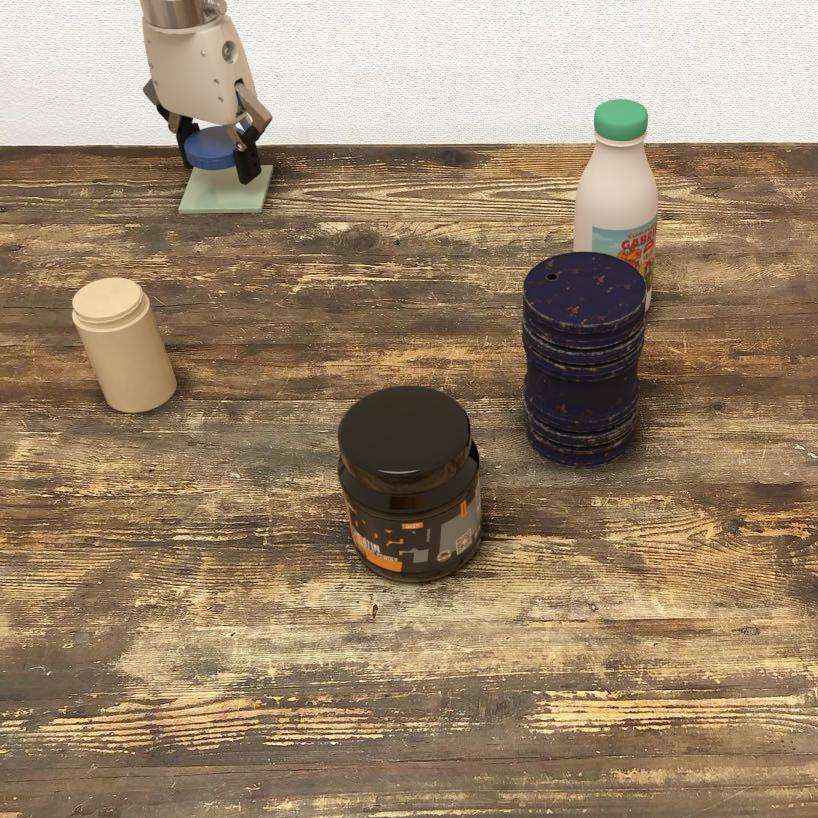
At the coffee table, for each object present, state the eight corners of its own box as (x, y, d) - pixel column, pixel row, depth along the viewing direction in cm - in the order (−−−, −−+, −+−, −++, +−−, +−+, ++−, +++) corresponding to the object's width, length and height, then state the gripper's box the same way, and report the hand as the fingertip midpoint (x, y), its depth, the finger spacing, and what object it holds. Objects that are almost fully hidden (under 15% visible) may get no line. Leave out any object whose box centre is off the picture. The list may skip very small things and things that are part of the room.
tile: (179, 214, 117) (177, 209, 116) (195, 170, 123) (194, 165, 122) (261, 212, 117) (260, 208, 116) (273, 169, 123) (272, 164, 122)
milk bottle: (560, 317, 104) (562, 122, 89) (588, 274, 109) (594, 82, 94) (635, 336, 102) (650, 139, 87) (660, 291, 107) (678, 97, 92)
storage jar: (655, 413, 95) (669, 271, 84) (607, 484, 89) (615, 341, 78) (555, 379, 98) (556, 238, 87) (503, 445, 93) (497, 303, 81)
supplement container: (328, 528, 86) (302, 417, 77) (437, 471, 90) (424, 360, 81) (398, 610, 81) (379, 502, 72) (510, 546, 85) (506, 435, 76)
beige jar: (119, 422, 95) (81, 329, 87) (95, 383, 98) (56, 290, 91) (187, 395, 97) (156, 302, 89) (161, 358, 101) (130, 265, 93)
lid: (264, 146, 117) (261, 133, 116) (225, 176, 113) (222, 163, 112) (213, 132, 119) (210, 120, 118) (173, 162, 115) (170, 149, 114)
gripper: (276, 4, 104) (308, 172, 118) (136, -26, 109) (182, 138, 123) (230, 35, 100) (268, 206, 113) (85, 2, 105) (139, 169, 118)
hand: (223, 169), depth 118 cm, fingers closed on lid, 6 cm apart
